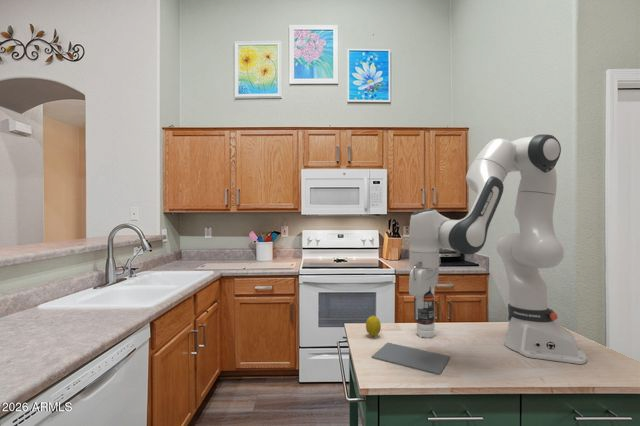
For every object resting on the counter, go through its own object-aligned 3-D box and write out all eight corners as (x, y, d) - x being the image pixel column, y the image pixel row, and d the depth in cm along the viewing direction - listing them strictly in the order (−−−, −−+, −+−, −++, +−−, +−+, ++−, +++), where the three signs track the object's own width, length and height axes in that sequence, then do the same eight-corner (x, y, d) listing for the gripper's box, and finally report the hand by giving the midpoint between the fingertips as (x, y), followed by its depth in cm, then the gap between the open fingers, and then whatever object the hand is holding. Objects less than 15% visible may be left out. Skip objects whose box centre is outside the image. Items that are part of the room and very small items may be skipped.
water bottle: (421, 338, 119) (420, 270, 120) (414, 332, 126) (413, 268, 126) (443, 337, 120) (442, 270, 121) (435, 331, 126) (434, 267, 127)
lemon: (363, 335, 123) (363, 314, 123) (375, 333, 125) (375, 312, 125) (370, 340, 118) (370, 318, 118) (383, 338, 120) (383, 316, 120)
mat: (450, 357, 103) (450, 355, 103) (440, 375, 91) (440, 373, 91) (387, 343, 114) (387, 342, 114) (371, 357, 103) (371, 356, 103)
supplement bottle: (418, 318, 104) (418, 283, 105) (437, 321, 101) (437, 285, 101) (411, 322, 100) (410, 285, 100) (430, 326, 96) (429, 288, 96)
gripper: (425, 265, 90) (425, 315, 90) (441, 258, 107) (442, 300, 107) (403, 264, 94) (403, 311, 93) (422, 257, 111) (422, 297, 110)
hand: (424, 305), depth 100 cm, fingers closed on supplement bottle, 6 cm apart
